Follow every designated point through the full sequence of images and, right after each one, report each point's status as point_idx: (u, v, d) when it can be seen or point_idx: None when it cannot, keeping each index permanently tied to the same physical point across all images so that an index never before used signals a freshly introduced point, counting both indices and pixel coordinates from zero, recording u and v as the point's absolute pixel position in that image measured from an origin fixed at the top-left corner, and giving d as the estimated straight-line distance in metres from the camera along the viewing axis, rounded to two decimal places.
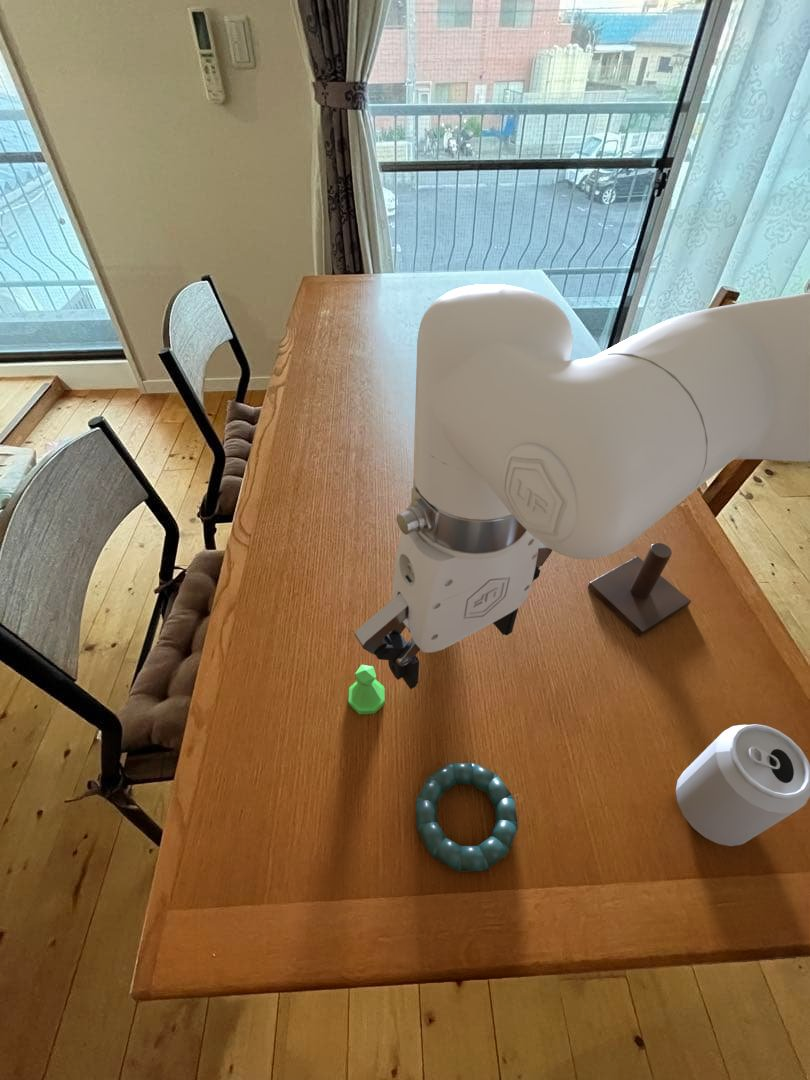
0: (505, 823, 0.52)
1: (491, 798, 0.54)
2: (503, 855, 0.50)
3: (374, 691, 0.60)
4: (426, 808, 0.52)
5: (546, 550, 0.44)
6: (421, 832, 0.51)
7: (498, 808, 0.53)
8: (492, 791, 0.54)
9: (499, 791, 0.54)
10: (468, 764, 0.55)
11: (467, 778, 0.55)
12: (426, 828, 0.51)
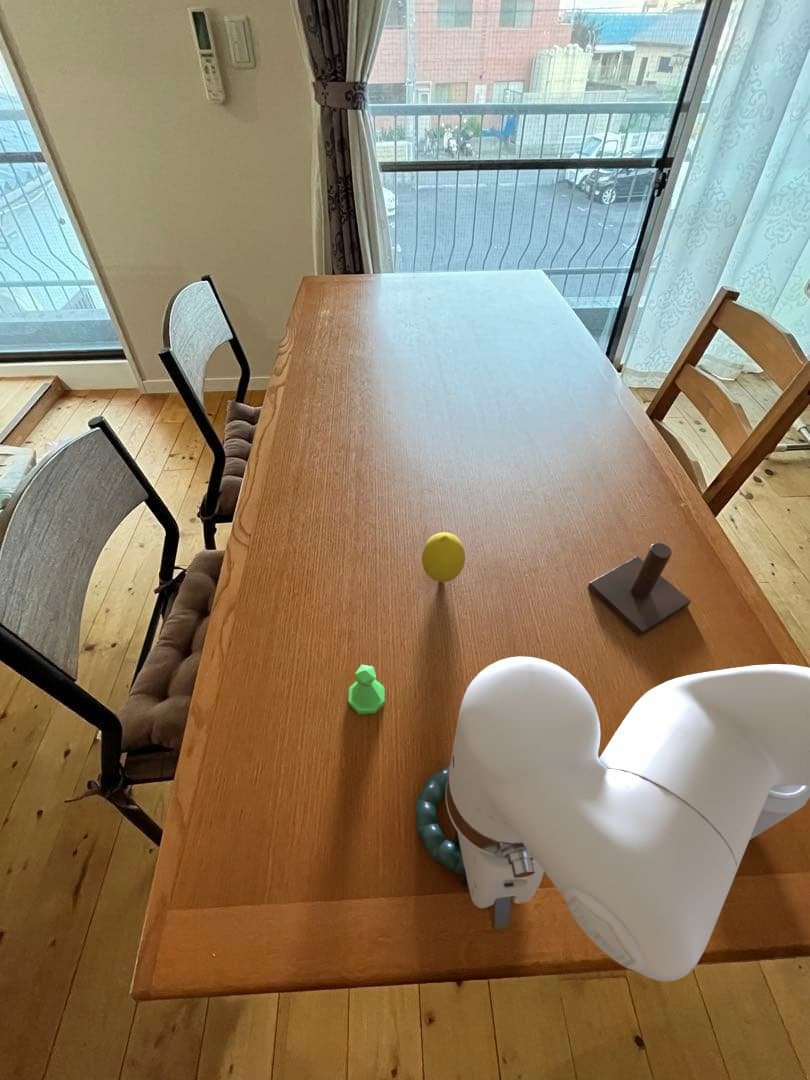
0: None
1: None
2: None
3: (374, 691, 0.60)
4: (426, 810, 0.52)
5: None
6: (421, 833, 0.51)
7: None
8: None
9: None
10: None
11: None
12: (426, 830, 0.51)
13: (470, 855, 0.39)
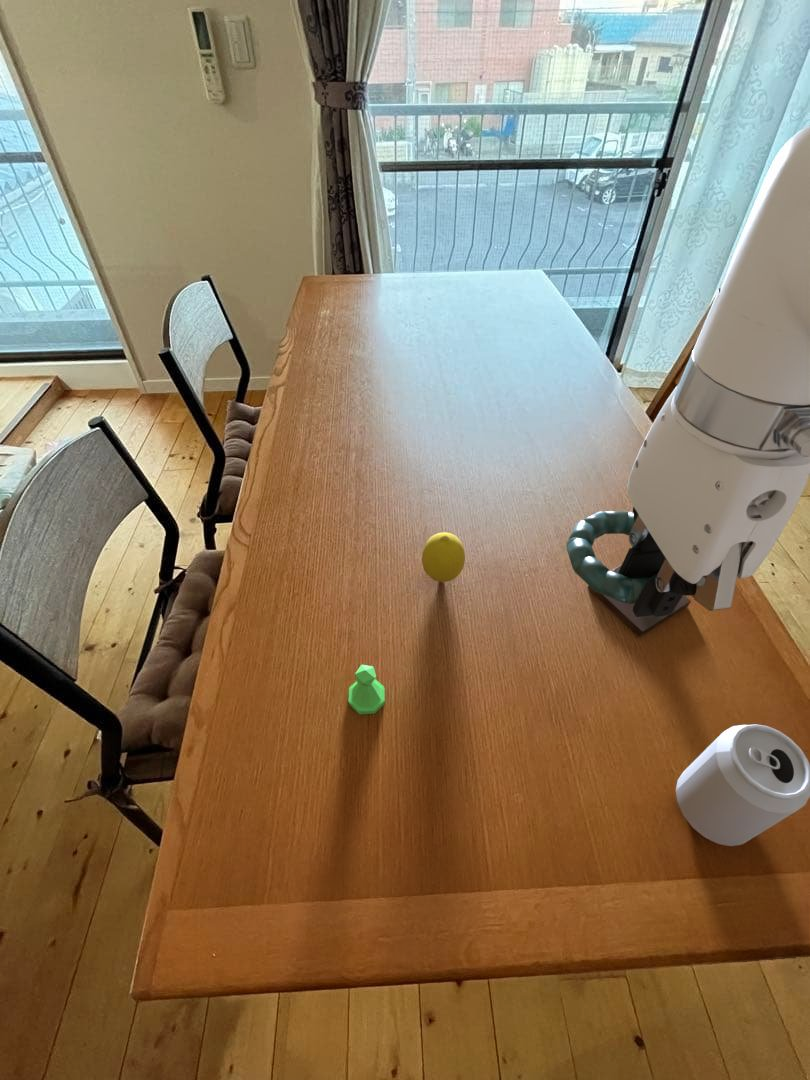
0: None
1: None
2: None
3: (374, 691, 0.60)
4: (583, 544, 0.46)
5: None
6: (581, 566, 0.45)
7: None
8: None
9: None
10: (621, 511, 0.49)
11: (622, 523, 0.48)
12: (587, 561, 0.45)
13: (704, 488, 0.32)
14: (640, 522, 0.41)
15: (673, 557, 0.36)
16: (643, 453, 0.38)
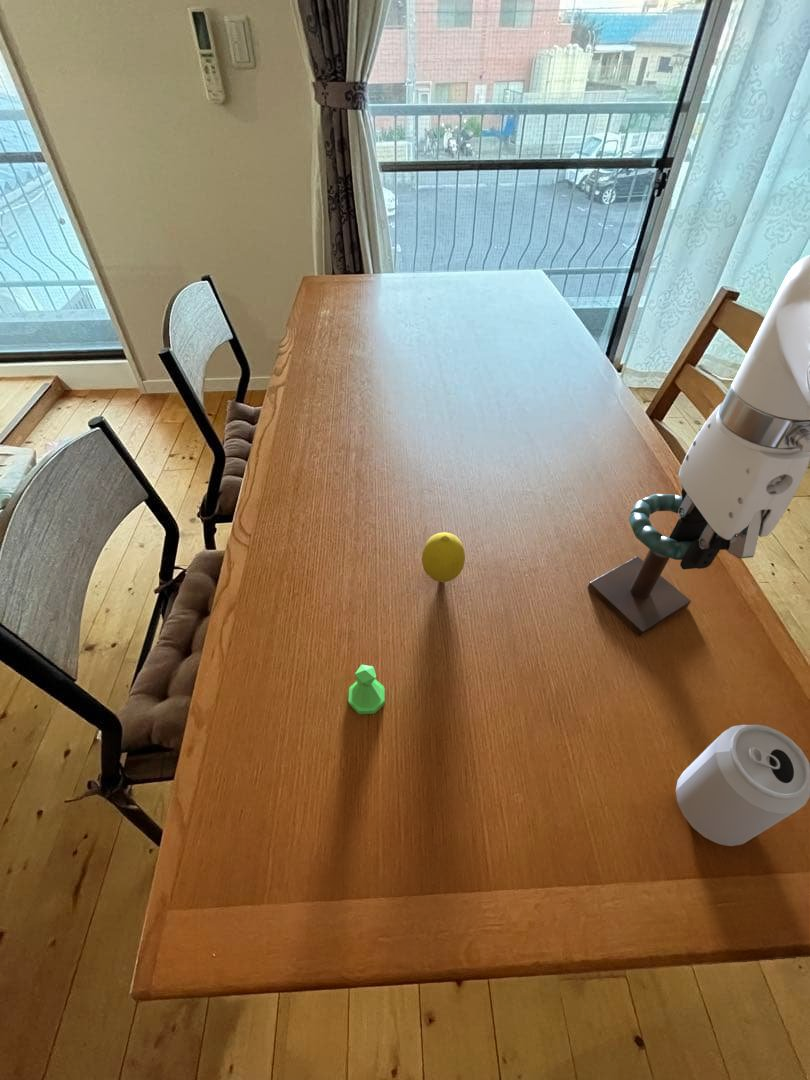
0: None
1: None
2: None
3: (374, 691, 0.60)
4: (642, 517, 0.62)
5: None
6: (641, 532, 0.61)
7: None
8: None
9: None
10: (669, 494, 0.65)
11: (670, 502, 0.64)
12: (646, 529, 0.61)
13: (738, 473, 0.48)
14: (688, 499, 0.58)
15: (714, 522, 0.53)
16: (692, 450, 0.55)
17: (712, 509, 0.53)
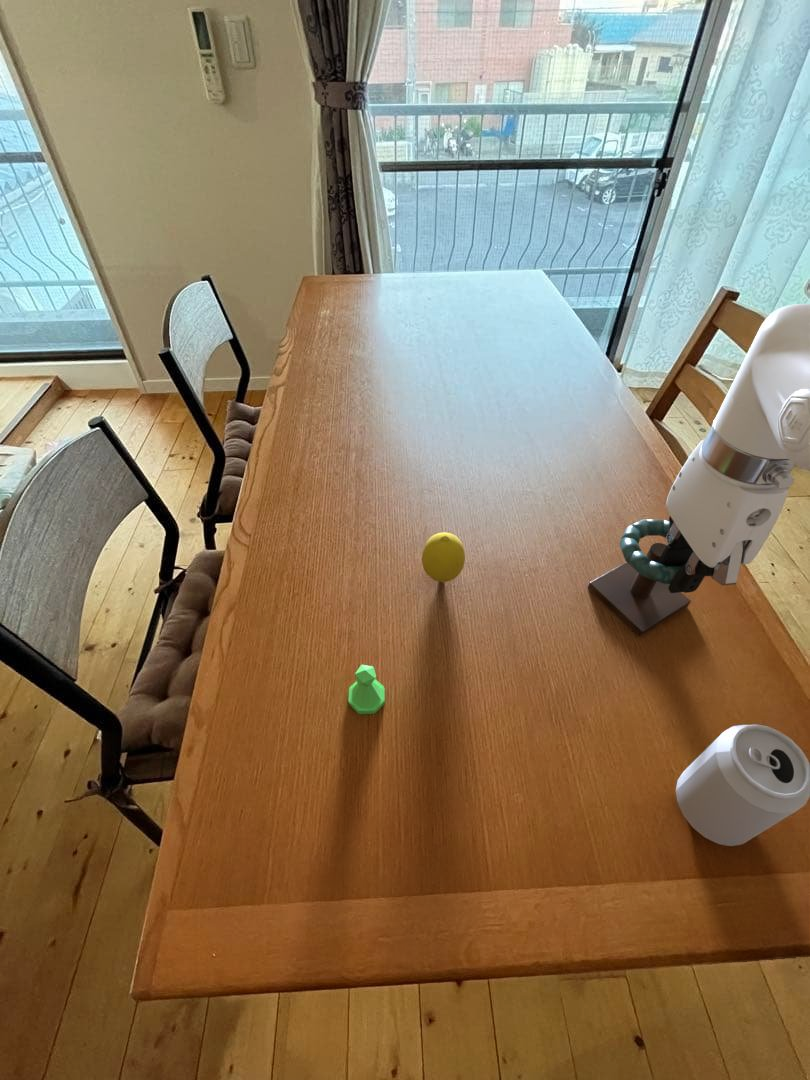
0: None
1: None
2: None
3: (374, 691, 0.60)
4: (632, 542, 0.65)
5: None
6: (631, 557, 0.64)
7: None
8: None
9: None
10: (658, 519, 0.68)
11: (659, 528, 0.67)
12: (636, 554, 0.64)
13: (720, 506, 0.51)
14: (675, 527, 0.60)
15: (698, 550, 0.55)
16: (678, 481, 0.57)
17: (697, 538, 0.55)
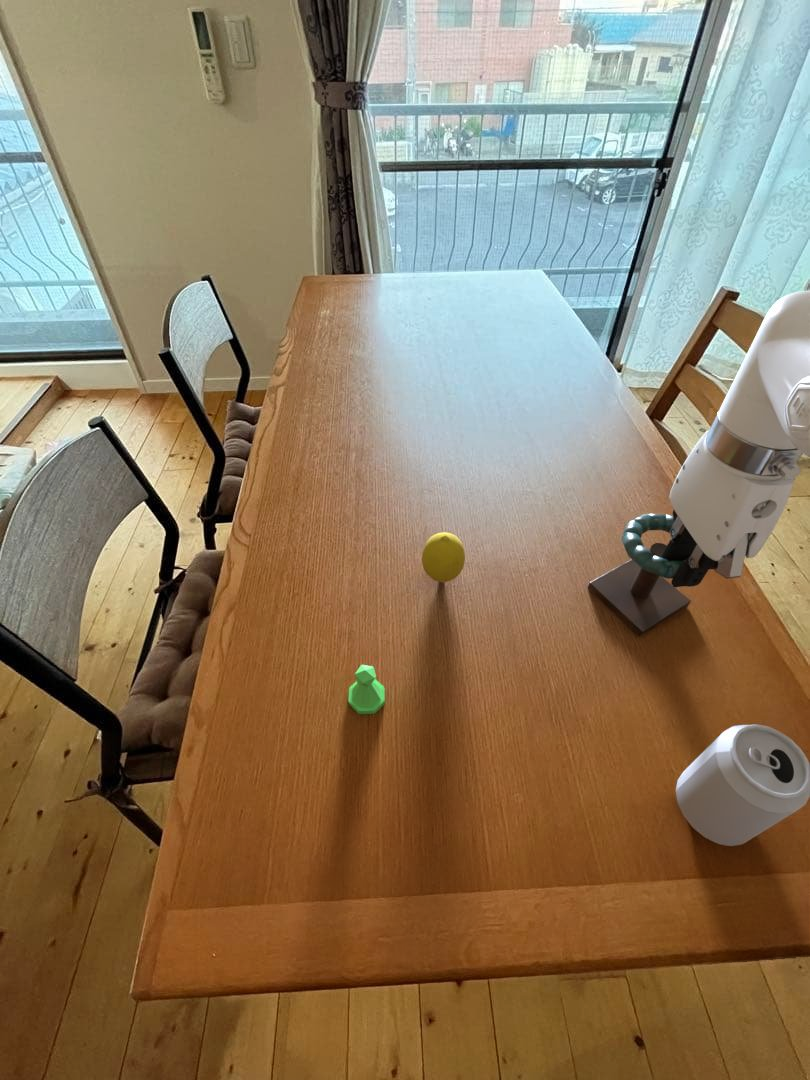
0: None
1: None
2: None
3: (374, 691, 0.60)
4: (635, 537, 0.64)
5: None
6: (634, 552, 0.63)
7: None
8: None
9: None
10: None
11: (662, 522, 0.66)
12: (638, 548, 0.63)
13: (725, 498, 0.50)
14: (678, 521, 0.59)
15: (703, 543, 0.55)
16: (682, 473, 0.57)
17: (701, 531, 0.54)
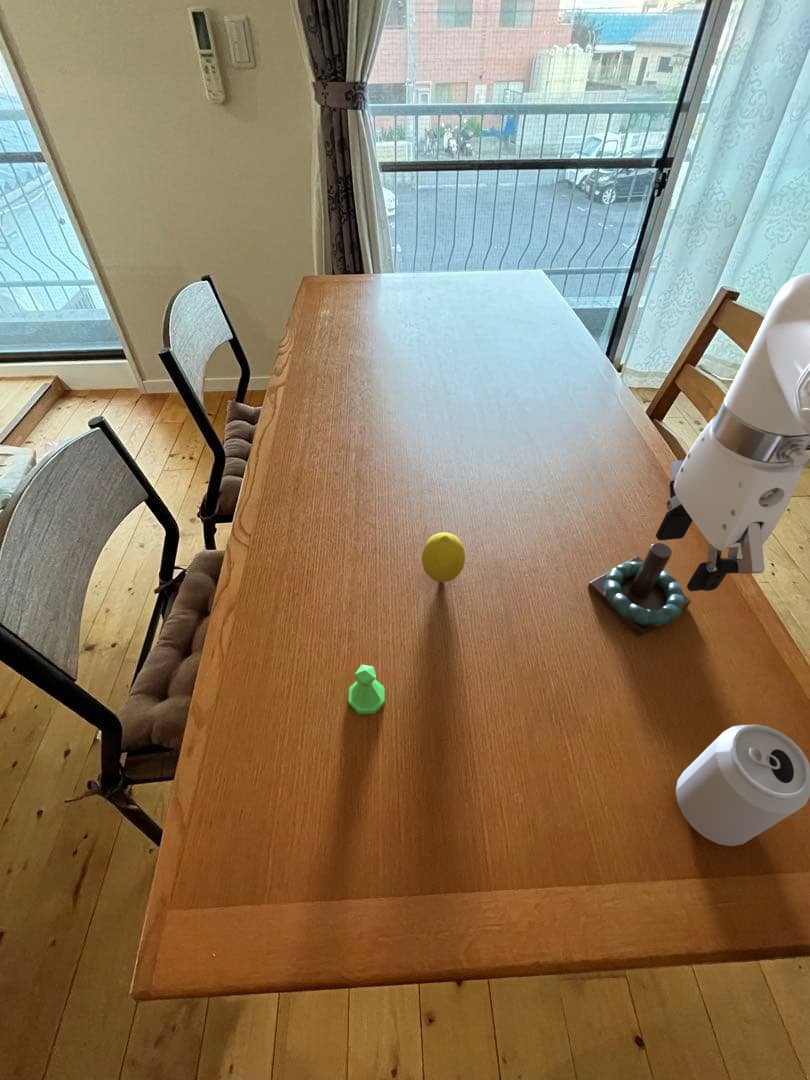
0: (677, 595, 0.69)
1: (661, 583, 0.71)
2: (677, 615, 0.67)
3: (374, 691, 0.60)
4: (615, 585, 0.70)
5: None
6: (613, 599, 0.69)
7: (669, 588, 0.70)
8: (662, 578, 0.71)
9: (668, 577, 0.71)
10: (641, 562, 0.73)
11: None
12: (617, 596, 0.68)
13: (731, 486, 0.50)
14: (678, 498, 0.59)
15: (708, 533, 0.54)
16: (687, 462, 0.56)
17: (706, 521, 0.54)
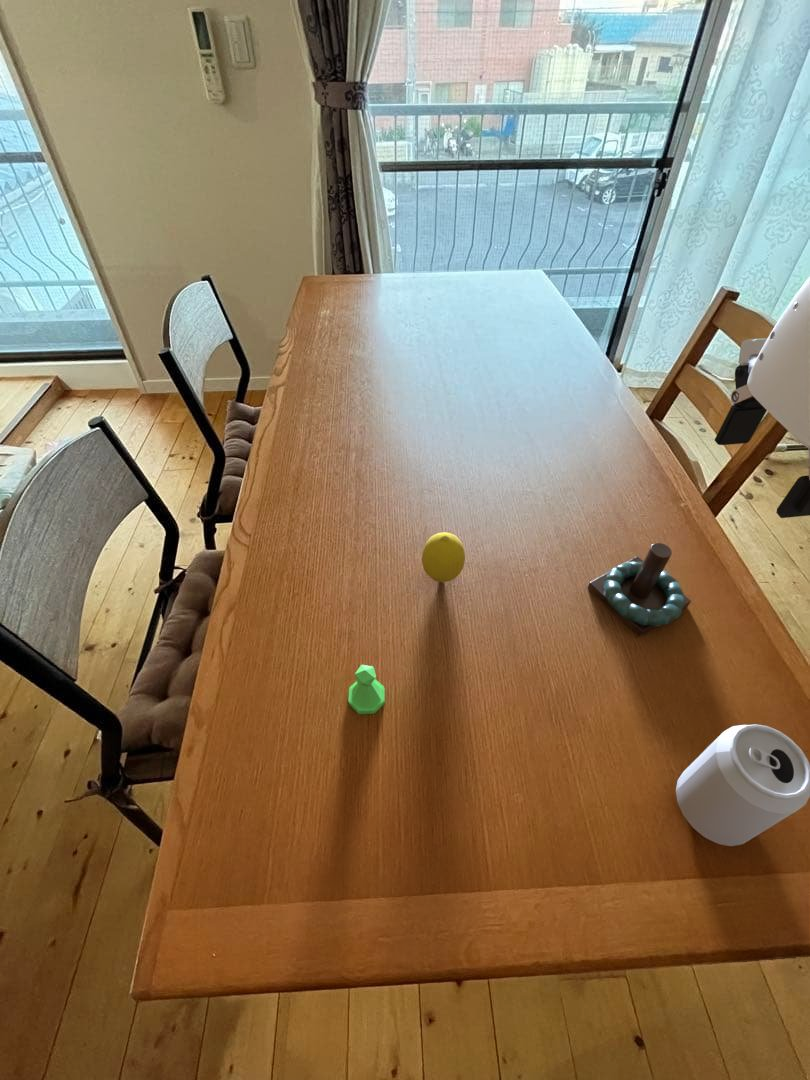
0: (677, 595, 0.69)
1: (661, 583, 0.71)
2: (677, 615, 0.67)
3: (374, 691, 0.60)
4: (615, 585, 0.70)
5: None
6: (613, 599, 0.69)
7: (669, 588, 0.70)
8: (662, 578, 0.71)
9: (668, 577, 0.71)
10: (641, 562, 0.73)
11: None
12: (617, 596, 0.68)
13: None
14: None
15: (801, 430, 0.41)
16: (769, 344, 0.43)
17: (799, 414, 0.41)
